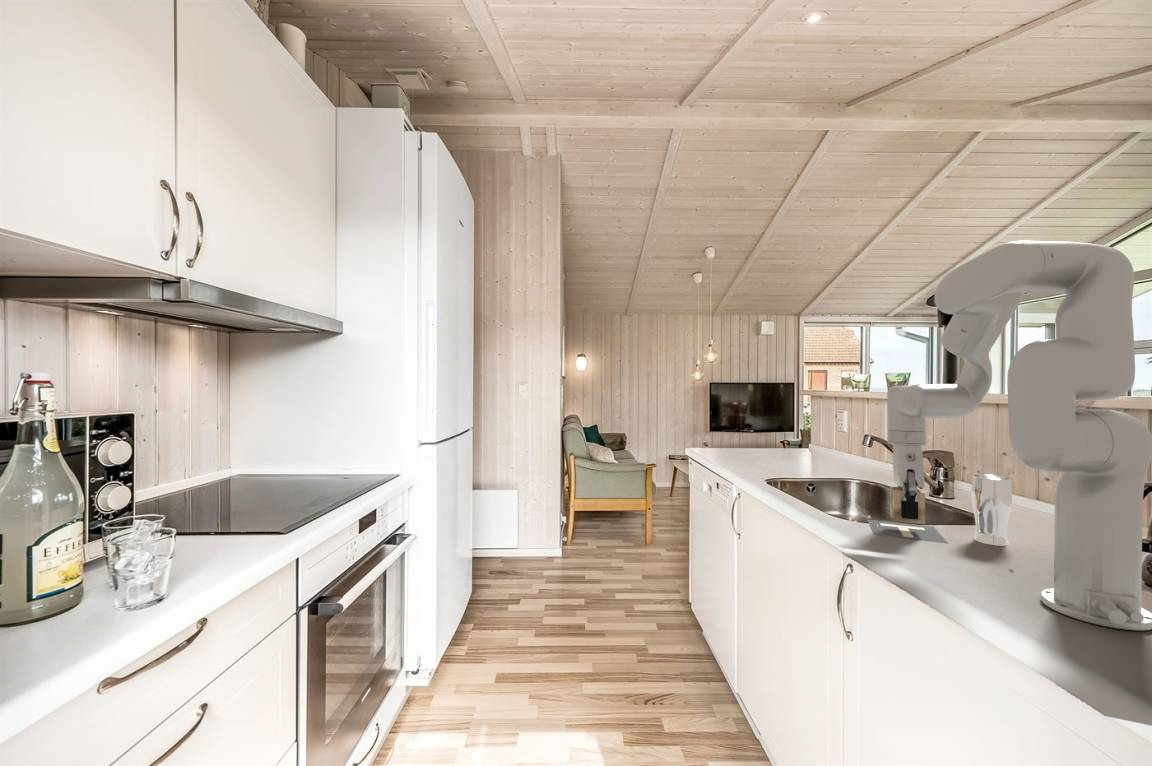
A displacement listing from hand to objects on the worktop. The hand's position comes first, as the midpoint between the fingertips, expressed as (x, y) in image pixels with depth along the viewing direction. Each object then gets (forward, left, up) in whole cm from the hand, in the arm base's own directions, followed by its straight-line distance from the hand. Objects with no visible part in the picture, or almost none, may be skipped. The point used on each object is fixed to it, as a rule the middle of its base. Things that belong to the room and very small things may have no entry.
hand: (907, 514), depth 118 cm
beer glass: (0, -16, -5) cm, 16 cm away
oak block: (0, 0, -1) cm, 1 cm away
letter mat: (+1, 0, -5) cm, 5 cm away
